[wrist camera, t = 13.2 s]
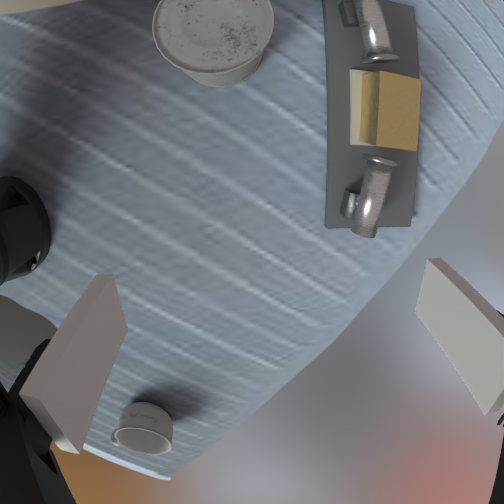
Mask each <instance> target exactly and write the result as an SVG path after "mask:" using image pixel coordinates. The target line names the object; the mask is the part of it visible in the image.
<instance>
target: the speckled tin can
mask: <svg viewBox="0 0 504 504" xmlns="http://www.w3.org/2000/svg"><path fill="white" fill-rule="evenodd" d="M274 22H275V17H274V10H273V7H272V4H271V2H270V0H161V1H160V2H159V4H158V6H157V8H156V11H155V13H154V17H153V22H152V31H153V38H154V41H155V43H156V46H157V48H158V50H159V51H160V52H161V54H162V55H163V57H164V58H166V59H167V60H168V61H169V62H170V63H172V64H173V65H174V66H176V67H178V68H180V69H182V70H183V71H184V72H186V73H187V74H188V75H189V76H190V77H191V78H192V79H194V80H195V81H197V82H199V83H201V84H202V85H206V86H210V87H218V88H222V87H230V86H233V85H236V84H239V83H241V82H242V81H244V80H246V79H248V78H249V77H250V76H251V75H252V74H253V73H254V72H255V70H256V69H257V68H258V66H259V64H260V62H261V59H262V56H263V52H264V50H265V47H266V46H267V44H268V43H269V41H270V38H271V36H272V33H273V30H274Z"/></svg>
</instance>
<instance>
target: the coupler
mask: <svg viewBox="0 0 504 504" xmlns="http://www.w3.org/2000/svg"><path fill="white" fill-rule="evenodd" d="M420 98H421V80H419V79H415V78H411V77H407V76H403V75H398V74H394V73H389V72H385V71H376V72H372V73H368V74H364V75H362V96H361V119H360V136H359V141H361V142H364V143H368V144H371V145H375V146H380V147H388V148H396V149H403V150H410V151H417V144H418V132H419V118H420Z"/></svg>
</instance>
